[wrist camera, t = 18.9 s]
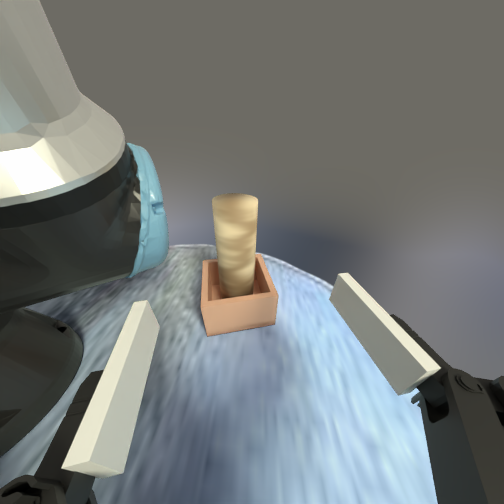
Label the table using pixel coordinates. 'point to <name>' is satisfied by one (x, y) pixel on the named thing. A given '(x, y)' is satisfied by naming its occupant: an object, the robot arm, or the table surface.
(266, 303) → the box
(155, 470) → the table surface
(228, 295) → the peg
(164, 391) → the table surface
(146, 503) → the table surface
